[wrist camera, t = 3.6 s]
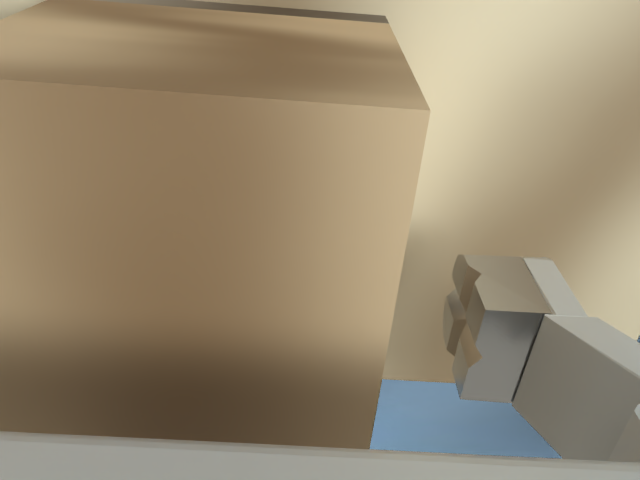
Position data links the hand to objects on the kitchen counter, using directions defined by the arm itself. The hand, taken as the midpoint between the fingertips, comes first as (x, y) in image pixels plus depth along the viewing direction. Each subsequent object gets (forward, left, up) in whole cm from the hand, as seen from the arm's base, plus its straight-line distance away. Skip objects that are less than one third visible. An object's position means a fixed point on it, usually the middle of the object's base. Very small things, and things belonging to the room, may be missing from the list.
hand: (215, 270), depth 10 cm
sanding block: (0, 0, -2) cm, 2 cm away
